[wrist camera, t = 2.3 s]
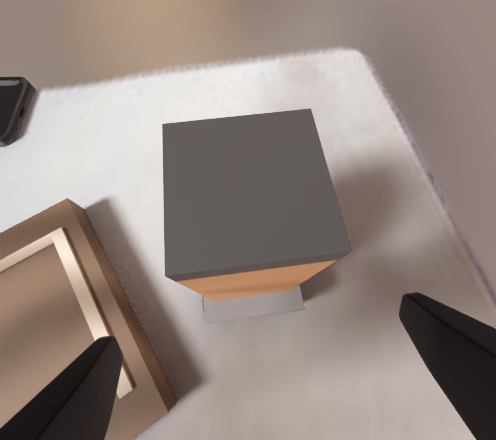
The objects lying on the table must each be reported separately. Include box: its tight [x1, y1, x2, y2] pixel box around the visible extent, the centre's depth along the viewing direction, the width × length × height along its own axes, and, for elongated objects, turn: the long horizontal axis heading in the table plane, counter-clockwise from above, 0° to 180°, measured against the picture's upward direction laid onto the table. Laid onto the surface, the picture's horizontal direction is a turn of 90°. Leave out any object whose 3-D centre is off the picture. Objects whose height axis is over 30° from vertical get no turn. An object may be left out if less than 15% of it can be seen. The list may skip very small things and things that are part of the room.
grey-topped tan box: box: [163, 109, 351, 324], centre depth 13 cm, size 7×6×13 cm
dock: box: [0, 198, 177, 440], centre depth 16 cm, size 16×14×2 cm
